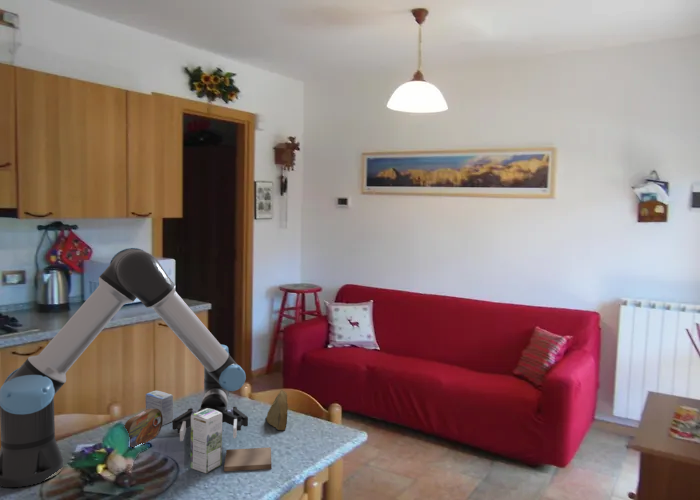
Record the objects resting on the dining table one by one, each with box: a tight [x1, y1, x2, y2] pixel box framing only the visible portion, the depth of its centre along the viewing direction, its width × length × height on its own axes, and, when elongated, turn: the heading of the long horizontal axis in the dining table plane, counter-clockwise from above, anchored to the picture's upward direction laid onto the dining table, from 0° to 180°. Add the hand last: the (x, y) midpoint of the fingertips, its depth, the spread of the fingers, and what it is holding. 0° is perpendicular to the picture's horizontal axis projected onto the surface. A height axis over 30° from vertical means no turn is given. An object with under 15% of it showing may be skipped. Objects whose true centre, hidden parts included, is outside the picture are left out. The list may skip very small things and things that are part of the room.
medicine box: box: [145, 390, 174, 426], centre depth 173 cm, size 8×4×9 cm, turn 58°
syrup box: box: [189, 408, 223, 474], centre depth 144 cm, size 6×6×14 cm
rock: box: [265, 390, 289, 431], centre depth 172 cm, size 11×9×10 cm
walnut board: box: [223, 446, 272, 472], centre depth 148 cm, size 12×10×1 cm
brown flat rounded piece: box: [123, 408, 163, 447], centre depth 158 cm, size 15×3×8 cm, turn 163°
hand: (208, 434), depth 145 cm, fingers open, 13 cm apart
